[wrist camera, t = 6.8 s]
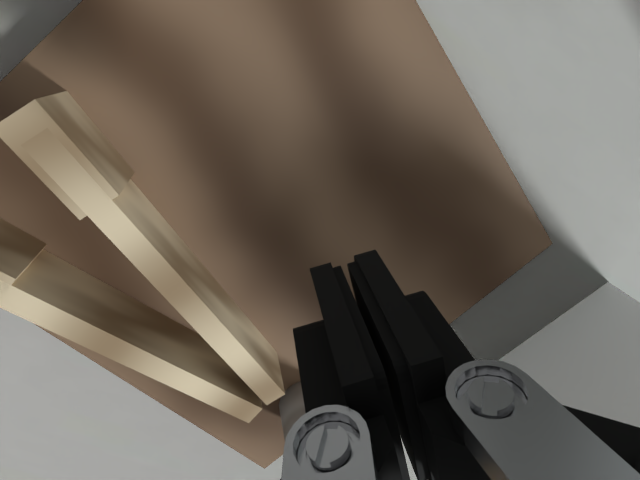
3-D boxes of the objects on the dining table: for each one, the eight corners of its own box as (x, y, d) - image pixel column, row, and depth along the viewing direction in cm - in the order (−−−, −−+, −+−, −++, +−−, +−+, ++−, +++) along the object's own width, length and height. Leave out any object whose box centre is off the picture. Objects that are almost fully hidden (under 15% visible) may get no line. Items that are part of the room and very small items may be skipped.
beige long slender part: (346, 393, 24) (365, 446, 21) (309, 430, 25) (323, 487, 22) (-38, 174, 16) (-104, 206, 12) (-81, 238, 16) (-155, 284, 13)
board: (291, -195, 14) (296, -212, 13) (540, 236, 24) (552, 243, 23) (-118, 207, 16) (-137, 216, 16) (262, 454, 26) (264, 468, 25)
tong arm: (281, 349, 22) (290, 390, 19) (255, 365, 22) (261, 408, 19) (66, 90, 15) (35, 99, 13) (30, 114, 15) (-10, 128, 13)
